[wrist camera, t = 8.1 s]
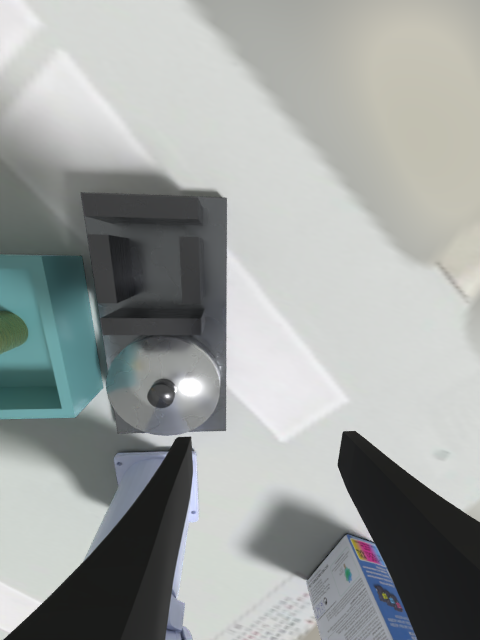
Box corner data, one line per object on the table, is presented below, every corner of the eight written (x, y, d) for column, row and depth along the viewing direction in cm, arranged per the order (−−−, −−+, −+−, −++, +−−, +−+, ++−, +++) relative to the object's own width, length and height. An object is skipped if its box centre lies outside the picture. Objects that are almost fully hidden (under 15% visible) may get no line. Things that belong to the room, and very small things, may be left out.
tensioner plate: (225, 423, 23) (225, 457, 19) (122, 425, 22) (100, 461, 18) (226, 201, 17) (226, 185, 13) (89, 196, 17) (47, 178, 13)
